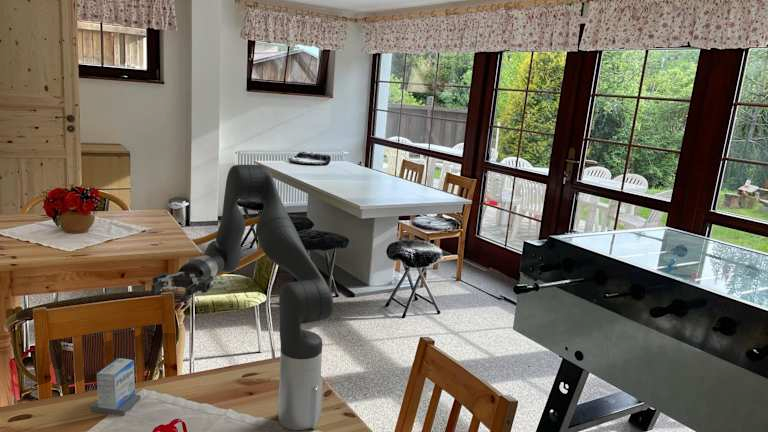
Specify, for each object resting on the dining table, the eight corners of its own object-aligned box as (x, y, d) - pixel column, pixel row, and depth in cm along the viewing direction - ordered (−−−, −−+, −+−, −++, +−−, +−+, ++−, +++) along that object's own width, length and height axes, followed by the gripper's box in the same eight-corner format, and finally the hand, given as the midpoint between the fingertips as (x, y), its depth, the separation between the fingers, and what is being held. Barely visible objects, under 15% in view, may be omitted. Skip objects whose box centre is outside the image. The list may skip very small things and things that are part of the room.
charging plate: (140, 399, 140) (140, 394, 140) (124, 415, 133) (123, 410, 133) (108, 395, 141) (108, 390, 141) (90, 410, 134) (90, 405, 134)
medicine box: (116, 410, 133) (114, 375, 131) (97, 408, 134) (96, 372, 132) (135, 393, 141) (134, 359, 139) (117, 390, 141) (116, 357, 139)
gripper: (173, 256, 161) (142, 273, 145) (224, 261, 159) (197, 279, 143) (173, 282, 162) (142, 303, 146) (224, 287, 161) (198, 308, 145)
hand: (170, 291), depth 145 cm, fingers open, 8 cm apart
